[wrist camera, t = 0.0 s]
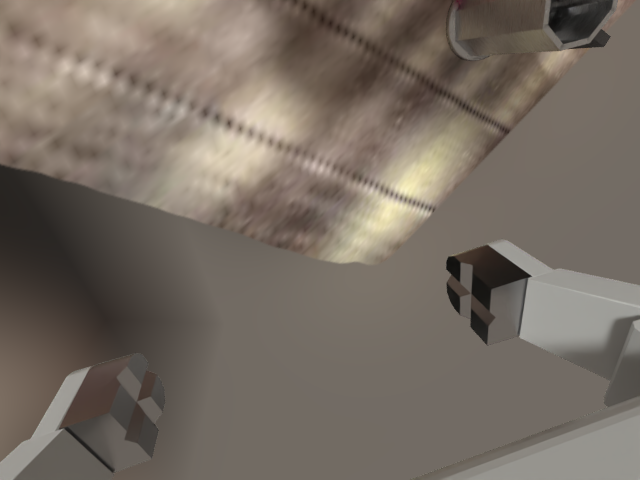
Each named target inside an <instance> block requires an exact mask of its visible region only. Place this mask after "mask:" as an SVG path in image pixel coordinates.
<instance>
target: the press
mask: <svg viewBox="0 0 640 480" xmlns="http://www.w3.org/2000/svg"><path fill="white" fill-rule="evenodd" d="M617 2H618V0H608V1H603V2H597V3H592V4H587V5H582V6H576V7H571V8H566V9H560V10H556V11H555V14H554V16H553V18H552V20H551V22H550V23H549V25H548V20H549V12H550V4H551V0H453V2H452V4H451V6H450V9H449V12H448V16H447V22H446V34H447V39H448V43H449V45H450V47H451V49H452V51H453V52H454V53H455V54H456V55H457V56H458V57H460V58H462V59H464V60H469V61H473V60H481V59H484V58H487V57H489V56H490V55H498V54H515V53H531V52H548V51H561V50H565V49H576V48H592V47H604V46H605V44H606V43H607V41H608V40H609V38H610V36H609V35H608V34H607V33H606V32H604V31H603V30H602V29H601V28H602V27H603V26H604V25H605V23H606V22H607V21H608V19H609V18H610V17H611V16H612V14H613V13H614V12H615V11H616V7H617Z"/></svg>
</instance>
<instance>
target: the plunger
mask: <svg viewBox="0 0 640 480" xmlns="http://www.w3.org/2000/svg"><path fill="white" fill-rule="evenodd" d="M603 1H608V0H551V4H550V12H549V20H548V25H549V23H550V22H551V20H552V18H553V16H554V14H555V11H556V10H560V9H566V8H571V7H576V6H582V5H587V4H592V3H597V2H603Z"/></svg>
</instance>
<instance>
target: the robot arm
mask: <svg viewBox="0 0 640 480" xmlns="http://www.w3.org/2000/svg"><path fill="white" fill-rule="evenodd" d="M446 270H448V272H449V273H451V276H450V278H449V280H448V281H447V293H448V296H449V299H450V302H451V304H452V305H453V307H454V309H455V310H456V311H457V312H458V313H459V314H460V315H461V316H464V317H466V318H469V319H471V328H472V329H473V330H474V331H475V333H476V334H477V335H478V336H479V337H480V338H481V339H482V340H483V341H484V342H485V344H486V345H491V344H494V343H497V342H501V341H504V340H507V339H511V338H514V337H517V336H520V338H521V339H523V340H526V341H528V342H530V343H532V344H534V345H536V346H538V347H540V348H542V349H544V350H547V351H549V352H551V353H553V354H555V355H557V356H559V357H561V358H563V359H565V360H567V361H570V362H572V363H574V364H576V365H578V366H580V367H582V368H584V369H587V370H589V371H591V372H593V373H595V374H597V375H599V376H601V377H603V378H606V379H607V380H609V381H610V383H609V386H608V388H607V391H606V394H605V397H604V404H605V405H606V406H607V408H605V409H602V410H599V411H596V412H594V413H591V414H588V415H586V416H583V417H580V418H577V419H575V420H572V421H569V422H566V423H564V424H561V425H558V426H555V427H553V428H550V429H547V430H545V431H542V432H539V433H537V434H534V435H531V436H528V437H526V438H523V439H520V440H517V441H514V442H512V443H509V444H507V445H504V446H501V447H498V448H496V449H493V450H490V451H487V452H484V453H482V454H479V455H476V456H473V457H471V458H468V459H465V460H463V461H460V462H457V463H455V464H452V465H449V466H446V467H443V468H441V469H438V470H435V471H433V472H430V473H427V474H424V475H422V476H419V477H416V478H413V479H411V480H640V286H639V285H635V284H630V283H626V282H621V281H616V280H612V279H607V278H602V277H598V276H593V275H588V274H584V273H579V272H575V271H570V270H565V269H560V268H559V269H556V270H553V269H551V268H550V267H548V266H546V265H545V264H543V263H541V262H540V261H539V260H537V259H536V258H534V257H532V256H531V255H529V254H528V253H526V252H525V251H523V250H521V249H520V248H518V247H517V246H515V245H514V244H512V243H511V242H509V241H507V240H503V239H500V240H496V241H493V242H491V243H487V244H485V245H483V246H480V247H477V248H474V249H471V250H467V251H464V252H461V253H458V254H454V255H451V256H449V257H448V258H447V261H446ZM147 366H148V362H147V360H146V359H145V358H144V357H143V355H142V354H136V353H135V354H131V355H128V356H125V357H121V358H118V359H114V360H111V361H107V362H104V363H100V364H97V365H94V366H91V367H88V368H84V369H80V370H77V371H74V372H73V373H71V374H70V375H68V376H67V377H66V379H65V381H64V383H63V384H62V386H61V388H60V389H59V391H58V393H57V395H56V396H55V398H54V400H53V401H52V403H51V405H50V407H49V408H48V410H47V412H46V414H45V415H44V417H43V419H42V420H41V422H40V424H39V425H38V427H37V429H36V431H35V432H34V434H33V436H32V438H31V439H29V440H27V441H24V442H22V443H21V444H20V445H19V446H18V447H17V448H16V449H14V450H13V451H12V452H11V453H10V454H9V455H8V456H7V457H6V458H5V459H4V460H3V461H1V462H0V480H111V479H112V478H113V476H114V474H113V473H115V472H118V471H120V470H123V469H126V468H129V467H131V466H134V465H136V464H139V463H142V462H145V461H148V460H150V459H152V456H153V452H154V447H155V444H156V439H157V435H158V431H159V430H158V428H157V427H156V425H155V424H154V423H155V422H156V421H157V419H158V418H159V417H160V415H161V414H162V413H163V409H164V404H165V392H164V391H165V390H164V387H163V384H162V381H161V380H160V378H159V377H158V375H157V374H155V373H152V372H149V371H147Z"/></svg>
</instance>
